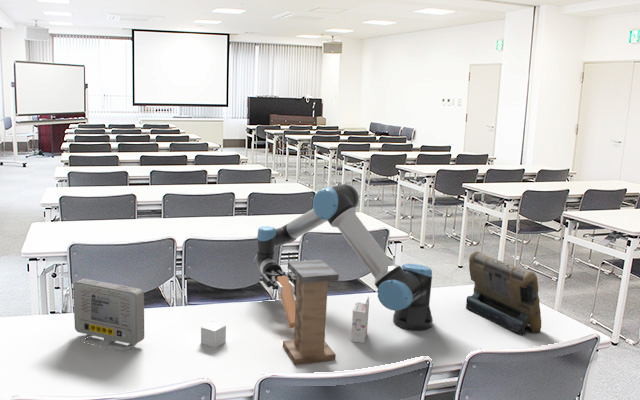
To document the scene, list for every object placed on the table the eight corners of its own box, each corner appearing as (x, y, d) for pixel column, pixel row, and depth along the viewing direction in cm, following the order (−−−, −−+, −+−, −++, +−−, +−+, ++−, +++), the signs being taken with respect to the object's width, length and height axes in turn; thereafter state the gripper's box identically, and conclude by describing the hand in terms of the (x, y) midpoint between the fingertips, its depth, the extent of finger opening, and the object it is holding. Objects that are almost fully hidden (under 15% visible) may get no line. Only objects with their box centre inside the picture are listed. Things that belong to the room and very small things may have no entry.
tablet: (546, 330, 220) (555, 269, 215) (524, 338, 212) (532, 274, 207) (480, 303, 246) (486, 247, 241) (458, 308, 238) (463, 251, 233)
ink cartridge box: (353, 332, 210) (356, 294, 207) (367, 333, 209) (369, 295, 206) (350, 341, 202) (352, 302, 199) (364, 343, 201) (366, 304, 198)
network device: (148, 343, 193) (148, 287, 189) (132, 354, 185) (131, 295, 181) (87, 329, 201) (85, 276, 197) (69, 339, 193) (66, 283, 189)
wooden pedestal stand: (282, 345, 196) (285, 262, 191) (319, 340, 201) (324, 259, 196) (295, 366, 182) (299, 277, 176) (336, 361, 187) (341, 274, 181)
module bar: (276, 281, 220) (277, 276, 218) (285, 280, 222) (287, 275, 220) (289, 328, 205) (290, 322, 203) (299, 327, 206) (301, 321, 204)
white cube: (214, 348, 192) (214, 331, 191) (200, 343, 195) (200, 327, 194) (225, 341, 197) (225, 325, 196) (212, 337, 200) (212, 321, 199)
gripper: (290, 277, 238) (308, 297, 216) (250, 280, 232) (265, 301, 210) (291, 260, 236) (309, 279, 215) (251, 262, 230) (265, 282, 209)
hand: (287, 289), depth 213 cm, fingers closed on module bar, 4 cm apart
